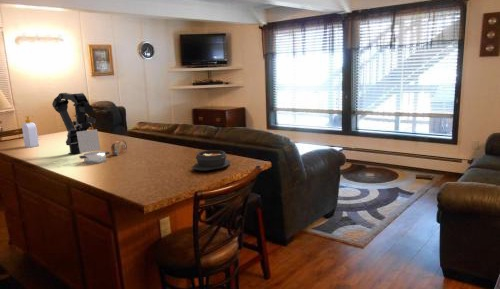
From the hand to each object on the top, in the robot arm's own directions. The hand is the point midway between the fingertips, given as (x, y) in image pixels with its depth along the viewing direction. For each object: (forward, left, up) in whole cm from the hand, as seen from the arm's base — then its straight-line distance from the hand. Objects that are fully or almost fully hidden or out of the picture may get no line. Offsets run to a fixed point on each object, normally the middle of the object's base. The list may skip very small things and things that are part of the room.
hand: (83, 137), depth 243 cm
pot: (+21, -10, -12) cm, 26 cm away
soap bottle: (-67, +8, -12) cm, 69 cm away
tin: (+18, +12, -12) cm, 25 cm away
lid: (+14, -8, 0) cm, 16 cm away
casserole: (+95, +4, -12) cm, 96 cm away
